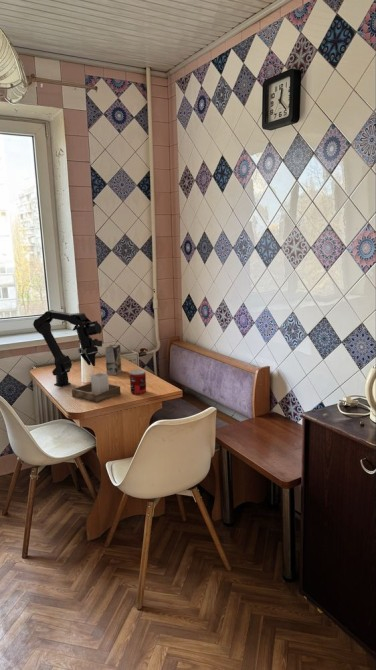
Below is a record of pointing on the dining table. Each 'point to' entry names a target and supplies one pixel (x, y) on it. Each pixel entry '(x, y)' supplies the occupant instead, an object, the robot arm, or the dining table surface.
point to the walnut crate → (86, 394)
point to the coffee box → (113, 359)
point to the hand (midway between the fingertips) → (91, 365)
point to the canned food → (138, 382)
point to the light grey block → (99, 383)
